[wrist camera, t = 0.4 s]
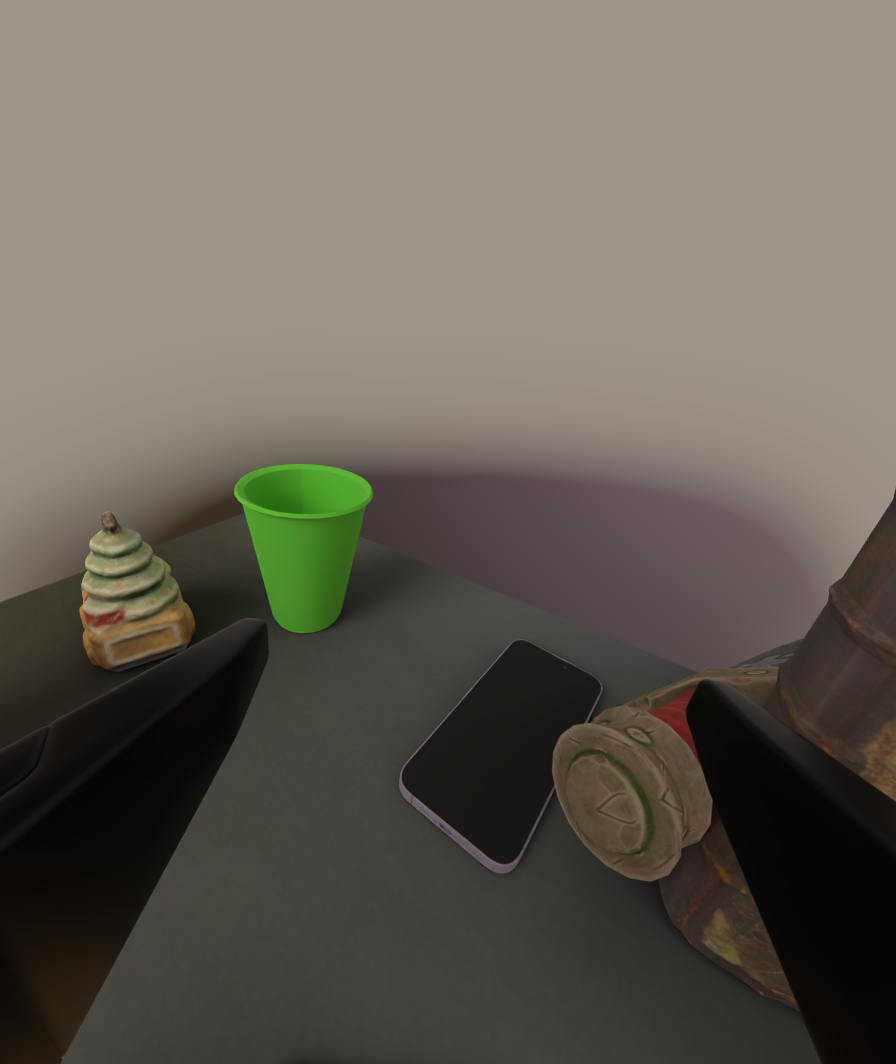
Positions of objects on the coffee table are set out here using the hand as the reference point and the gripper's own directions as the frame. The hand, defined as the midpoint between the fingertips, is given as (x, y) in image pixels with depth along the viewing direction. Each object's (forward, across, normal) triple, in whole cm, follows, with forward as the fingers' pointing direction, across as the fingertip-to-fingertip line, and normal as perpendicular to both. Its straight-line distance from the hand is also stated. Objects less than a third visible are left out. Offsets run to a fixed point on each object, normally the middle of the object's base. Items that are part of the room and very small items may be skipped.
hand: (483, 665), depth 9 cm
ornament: (+17, +21, +16) cm, 31 cm away
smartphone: (+12, -5, +16) cm, 21 cm away
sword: (+14, -9, +18) cm, 24 cm away
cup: (+21, +10, +16) cm, 29 cm away
